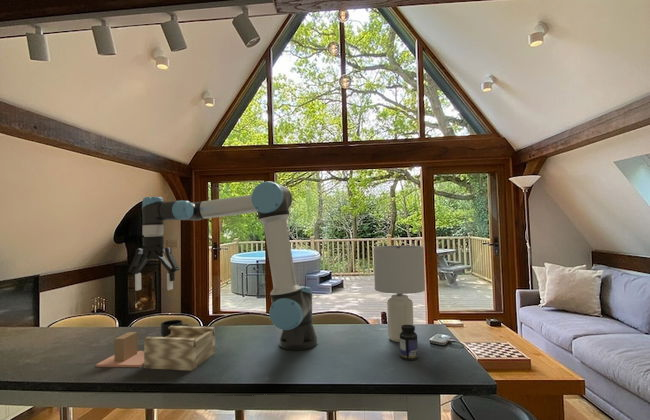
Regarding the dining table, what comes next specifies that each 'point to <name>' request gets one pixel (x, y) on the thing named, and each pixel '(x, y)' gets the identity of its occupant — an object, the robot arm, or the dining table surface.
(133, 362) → the cover plate
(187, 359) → the birch box
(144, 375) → the dining table surface
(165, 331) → the mug
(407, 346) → the pill bottle
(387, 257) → the lamp
